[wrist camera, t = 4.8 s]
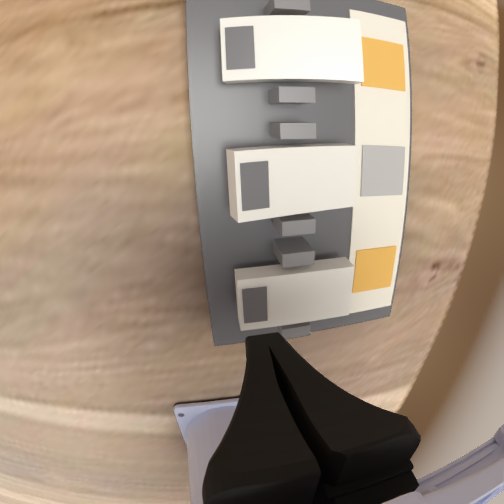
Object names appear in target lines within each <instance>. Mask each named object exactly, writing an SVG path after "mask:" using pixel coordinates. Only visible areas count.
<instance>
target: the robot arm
mask: <svg viewBox="0 0 504 504" xmlns="http://www.w3.org/2000/svg"><path fill="white" fill-rule="evenodd" d="M245 344H246V359H247V362H246V370H245V376H244V381H243V385H242V390H241V393H240V397H239V398H234V399H227V400H218V401H209V402H199V403H189V404H178V405H175V406H174V413H175V416H176V419H177V422H178V425H179V427H180V430H181V433H182V436H183V438H184V441H185V444H186V446H187V455H188V471H189V485H190V497H191V504H486V503H487V502H488V501H490V500H491V499H493V498H494V497H495V496H497V495H498V494H499V493H500V492H502V491H503V490H504V424H503V425H502V426H501V427H500V428H499V429H498V431H497V432H496V433H495V435H494V437H493V438H491V439H490V440H488V441H487V442H485V443H484V444H482V445H480V446H479V447H477V448H476V449H474V450H472V451H471V452H469V453H468V454H466V455H464V456H462V457H460V458H459V459H457V460H455V461H453V462H451V463H450V464H448V465H446V466H444V467H442V468H440V469H438V470H436V471H434V472H432V473H430V474H428V475H426V476H424V477H422V478H420V479H418V480H417V479H416V478H415V476H414V474H413V472H412V471H411V470H412V469H413V464H412V462H411V461H410V458H411V457H412V455H413V454H414V452H415V451H416V449H417V447H418V445H419V443H420V440H421V438H420V435H419V433H418V432H417V430H416V428H415V427H414V425H413V424H412V423H411V422H410V421H409V419H408V418H407V417H406V416H403V415H399V414H396V413H393V412H390V411H387V410H384V409H381V408H379V407H376V406H374V405H371V404H369V403H367V402H365V401H363V400H361V399H359V398H357V397H355V396H353V395H351V394H349V393H348V392H346V391H344V390H343V389H341V388H340V387H338V386H337V385H335V384H334V383H332V382H331V381H329V380H328V379H327V378H325V377H324V376H323V375H322V374H320V373H319V372H318V371H317V370H316V369H314V368H313V367H312V366H311V365H310V364H309V363H308V362H307V361H306V360H305V359H304V358H302V357H301V356H300V355H299V354H298V353H297V352H296V351H295V349H294V348H293V347H292V346H291V345H290V344H289V343H288V342H287V341H286V340H285V338H284V337H283V336H282V335H281V334H280V333H279V332H274V333H267V334H260V335H253V336H248V337H246V338H245Z"/></svg>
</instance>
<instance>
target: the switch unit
mask: <svg viewBox="0 0 504 504" xmlns="http://www.w3.org/2000/svg"><path fill="white" fill-rule="evenodd" d="M268 15H303V16H326V17H340V18H350V19H360V26H361V39H362V53H363V72H364V82H362V83H359V84H350V83H332V82H250V83H232V84H226V83H224V82H223V81H222V59H221V34H220V18H231V17H245V16H268ZM186 26H187V58H188V81H189V100H190V117H191V132H192V146H193V159H194V172H195V183H196V194H197V205H198V216H199V225H200V235H201V244H202V254H203V262H204V271H205V279H206V287H207V295H208V303H209V311H210V318H211V326H212V333H213V340H214V346H219V345H227V344H235V343H243V342H245V338H246V337H248V336H253V335H260V334H267V333H274V332H279V333H280V334H281V335H282V336H283V337H284V338H285V339H290V338H296V337H302V336H308V335H310V332H314V331H320V330H325V329H330V328H336V327H341V326H346V325H351V324H356V323H361V322H365V321H370V320H375V319H379V318H384V317H388V316H390V313H391V308H392V303H393V298H394V293H395V287H396V282H397V276H398V270H399V264H400V258H401V251H402V244H403V237H404V229H405V220H406V211H407V201H408V190H409V177H410V161H411V135H412V90H411V65H410V50H409V38H408V27H407V18H406V10H405V8H403V7H399V6H396V5H392V4H388V3H384V2H380V1H376V0H186ZM325 143H344V144H350V145H356V146H357V181H356V203H355V206H354V207H346V208H339V209H331V210H324V211H316V212H309V213H302V214H295V215H288V216H281V217H275V218H268V219H261V220H255V221H248V222H241V223H238V222H237V221H236V220H235V219H234V218H232V217H231V216H230V204H229V189H228V173H227V156H226V149H233V148H245V147H259V146H274V145H294V144H325ZM340 257H346V258H347V259H348V260H349V261H350V262H351V263H352V264H353V265H354V266H355V269H354V278H353V287H352V295H351V303H350V311H349V315H346V316H340V317H334V318H328V319H322V320H316V321H310V322H303V323H297V324H290V325H283V326H276V327H268V328H261V329H253V330H244V331H241V329H240V325H239V320H238V310H237V297H236V284H235V271H234V269H240V268H249V267H259V266H268V265H277V264H281V266H282V268H286V267H294V266H302V265H311V264H314V260H323V259H331V258H340Z"/></svg>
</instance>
